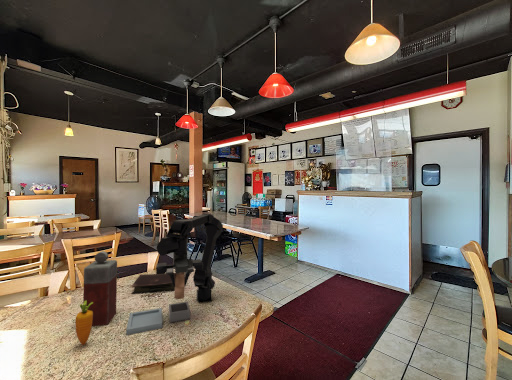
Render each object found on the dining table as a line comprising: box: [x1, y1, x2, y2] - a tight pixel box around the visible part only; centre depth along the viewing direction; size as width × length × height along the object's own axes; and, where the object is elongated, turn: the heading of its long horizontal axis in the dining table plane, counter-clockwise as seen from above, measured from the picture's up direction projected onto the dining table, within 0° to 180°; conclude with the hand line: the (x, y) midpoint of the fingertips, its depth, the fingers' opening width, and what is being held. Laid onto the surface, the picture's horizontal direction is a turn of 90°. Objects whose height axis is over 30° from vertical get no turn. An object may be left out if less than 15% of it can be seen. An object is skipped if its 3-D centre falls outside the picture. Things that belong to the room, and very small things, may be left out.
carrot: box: [75, 301, 93, 346], centre depth 80 cm, size 5×5×15 cm
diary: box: [131, 272, 185, 295], centre depth 130 cm, size 19×25×5 cm
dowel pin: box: [174, 272, 186, 300], centre depth 99 cm, size 4×4×10 cm
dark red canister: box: [82, 250, 118, 327], centre depth 97 cm, size 9×11×28 cm
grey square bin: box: [168, 301, 191, 324], centre depth 99 cm, size 8×8×4 cm
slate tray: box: [125, 307, 163, 336], centre depth 94 cm, size 12×12×2 cm
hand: (179, 286), depth 99 cm, fingers closed on dowel pin, 4 cm apart
